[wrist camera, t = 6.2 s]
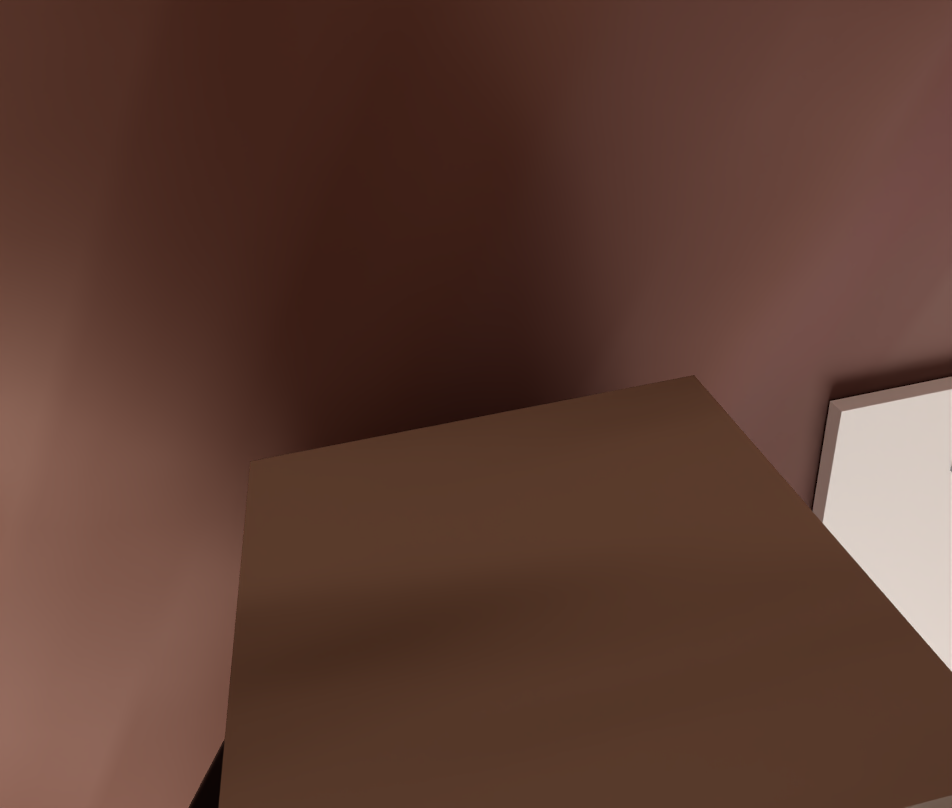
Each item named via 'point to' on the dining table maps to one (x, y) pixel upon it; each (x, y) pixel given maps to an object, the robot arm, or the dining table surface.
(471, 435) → the walnut block
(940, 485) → the letter
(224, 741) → the robot arm
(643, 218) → the dining table surface
